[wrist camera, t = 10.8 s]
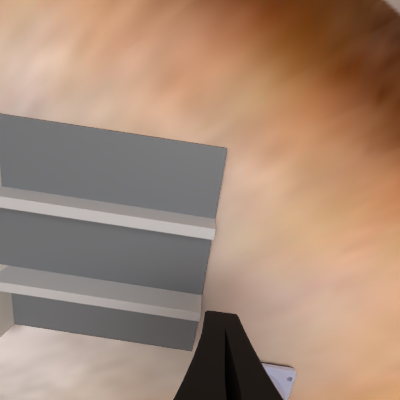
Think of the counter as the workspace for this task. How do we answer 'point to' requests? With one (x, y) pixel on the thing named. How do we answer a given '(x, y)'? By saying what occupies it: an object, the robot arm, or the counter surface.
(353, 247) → the counter surface
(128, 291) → the channel board
